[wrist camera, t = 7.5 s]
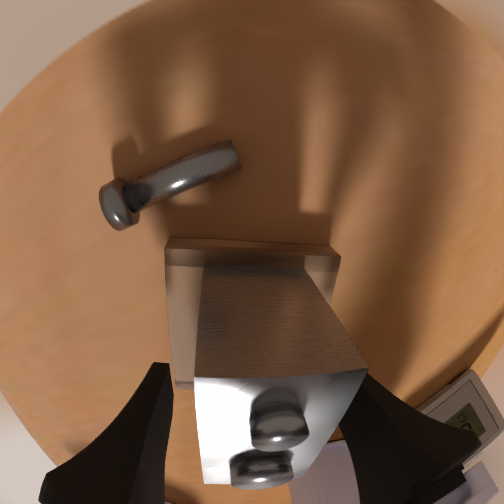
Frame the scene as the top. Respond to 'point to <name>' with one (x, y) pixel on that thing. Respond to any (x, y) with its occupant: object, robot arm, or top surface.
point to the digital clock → (467, 410)
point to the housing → (268, 374)
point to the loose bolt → (165, 183)
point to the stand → (231, 253)
